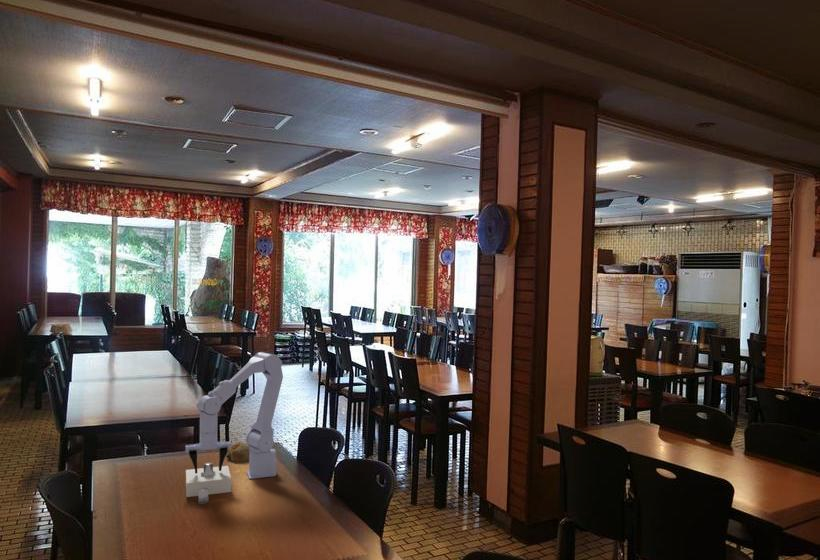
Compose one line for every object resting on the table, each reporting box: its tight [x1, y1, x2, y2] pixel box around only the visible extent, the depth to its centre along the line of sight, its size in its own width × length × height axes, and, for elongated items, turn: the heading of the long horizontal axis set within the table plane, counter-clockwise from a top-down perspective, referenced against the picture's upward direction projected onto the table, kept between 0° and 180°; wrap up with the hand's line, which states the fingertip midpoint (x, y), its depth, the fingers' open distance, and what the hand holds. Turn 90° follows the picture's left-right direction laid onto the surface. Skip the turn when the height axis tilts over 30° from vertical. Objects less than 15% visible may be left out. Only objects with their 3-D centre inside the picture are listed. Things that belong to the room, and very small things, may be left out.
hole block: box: [185, 465, 232, 498], centre depth 199 cm, size 14×14×4 cm
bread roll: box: [225, 441, 249, 462], centre depth 231 cm, size 10×10×8 cm
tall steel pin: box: [203, 462, 214, 477], centre depth 199 cm, size 3×3×8 cm
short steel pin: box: [197, 488, 209, 505], centre depth 187 cm, size 3×3×4 cm
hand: (208, 471), depth 199 cm, fingers open, 7 cm apart
